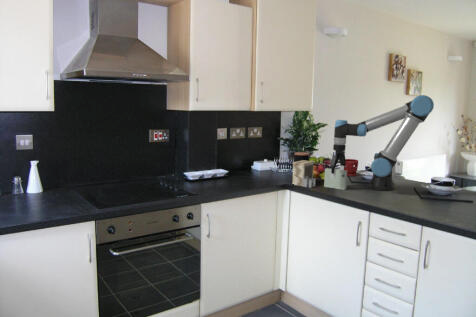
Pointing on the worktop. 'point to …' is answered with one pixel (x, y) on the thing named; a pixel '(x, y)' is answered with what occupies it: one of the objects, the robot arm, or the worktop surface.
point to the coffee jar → (301, 156)
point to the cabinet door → (339, 179)
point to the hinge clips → (308, 182)
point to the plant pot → (351, 167)
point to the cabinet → (302, 171)
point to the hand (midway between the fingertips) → (337, 176)
